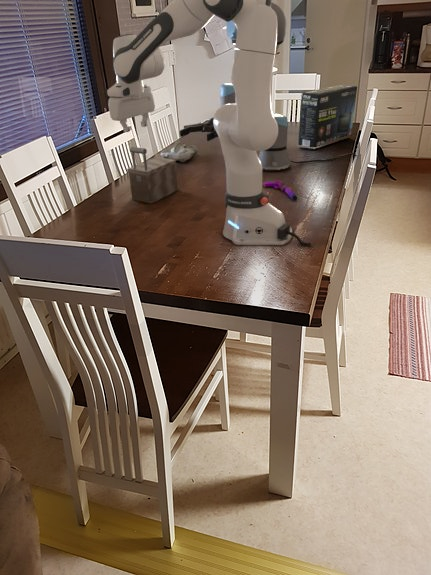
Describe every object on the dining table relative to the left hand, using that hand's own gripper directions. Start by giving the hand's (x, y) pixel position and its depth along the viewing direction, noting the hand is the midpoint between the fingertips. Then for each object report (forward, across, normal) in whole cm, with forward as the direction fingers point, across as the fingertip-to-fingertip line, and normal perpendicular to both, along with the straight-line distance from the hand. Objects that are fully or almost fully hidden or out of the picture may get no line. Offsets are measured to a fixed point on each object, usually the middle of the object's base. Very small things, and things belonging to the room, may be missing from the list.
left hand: (135, 129), depth 166 cm
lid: (+16, -7, 0) cm, 17 cm away
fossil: (+27, -54, -24) cm, 65 cm away
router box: (+27, -112, +31) cm, 120 cm away
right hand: (+9, -34, +1) cm, 36 cm away
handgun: (+27, -32, +43) cm, 60 cm away
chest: (+27, -7, 0) cm, 28 cm away
